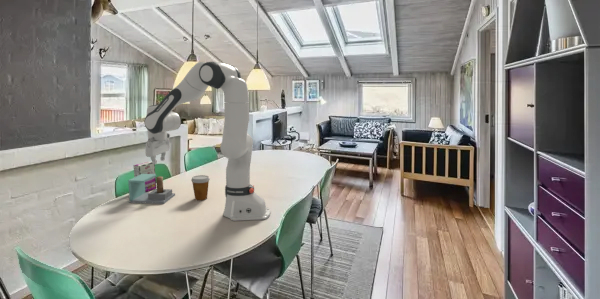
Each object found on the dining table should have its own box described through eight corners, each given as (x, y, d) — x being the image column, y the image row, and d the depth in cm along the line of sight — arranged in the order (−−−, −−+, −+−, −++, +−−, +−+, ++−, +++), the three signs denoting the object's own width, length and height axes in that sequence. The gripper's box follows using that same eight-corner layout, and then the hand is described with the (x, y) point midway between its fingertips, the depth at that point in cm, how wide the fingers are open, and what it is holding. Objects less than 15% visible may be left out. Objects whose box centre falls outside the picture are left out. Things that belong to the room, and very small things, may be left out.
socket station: (175, 195, 179) (174, 174, 177) (164, 203, 165) (162, 181, 163) (143, 194, 180) (142, 173, 178) (129, 202, 166) (128, 180, 164)
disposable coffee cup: (213, 197, 176) (213, 176, 174) (200, 202, 169) (199, 180, 167) (202, 194, 181) (201, 174, 180) (188, 199, 174) (187, 177, 172)
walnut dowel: (164, 196, 174) (163, 176, 172) (162, 198, 171) (161, 178, 169) (158, 196, 174) (157, 176, 172) (156, 197, 171) (155, 177, 169)
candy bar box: (150, 187, 193) (148, 161, 190) (156, 188, 191) (155, 162, 188) (134, 193, 182) (132, 164, 179) (141, 194, 180) (139, 165, 178)
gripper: (153, 138, 156) (155, 166, 159) (171, 134, 177) (172, 158, 179) (141, 138, 157) (143, 166, 159) (160, 133, 177) (161, 158, 179)
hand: (158, 162), depth 169 cm, fingers open, 8 cm apart
